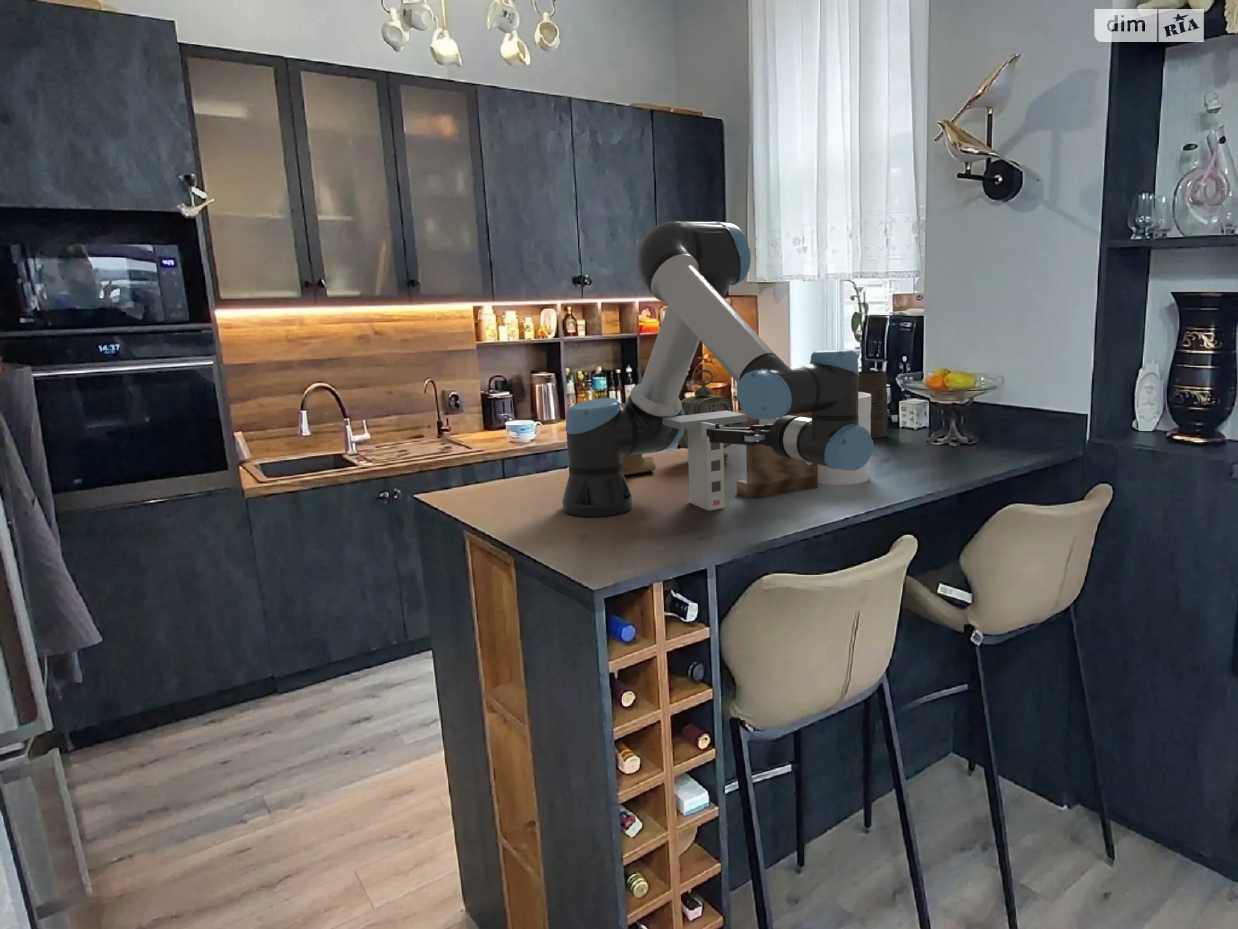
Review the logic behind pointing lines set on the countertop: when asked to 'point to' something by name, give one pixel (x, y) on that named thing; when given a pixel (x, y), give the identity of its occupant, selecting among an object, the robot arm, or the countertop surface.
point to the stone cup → (637, 464)
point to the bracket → (774, 470)
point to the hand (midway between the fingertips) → (732, 425)
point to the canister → (844, 476)
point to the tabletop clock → (704, 406)
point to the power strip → (705, 457)
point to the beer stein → (876, 400)
